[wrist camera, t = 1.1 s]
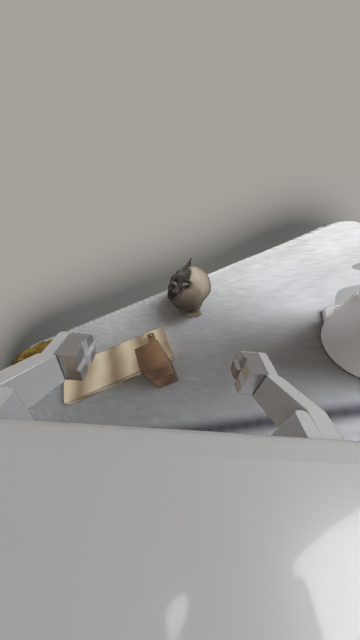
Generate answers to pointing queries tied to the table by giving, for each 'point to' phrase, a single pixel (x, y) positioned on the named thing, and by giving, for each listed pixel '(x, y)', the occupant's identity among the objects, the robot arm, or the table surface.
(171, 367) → the wooden block
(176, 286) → the round clay pot
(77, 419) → the table surface
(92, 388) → the plank
